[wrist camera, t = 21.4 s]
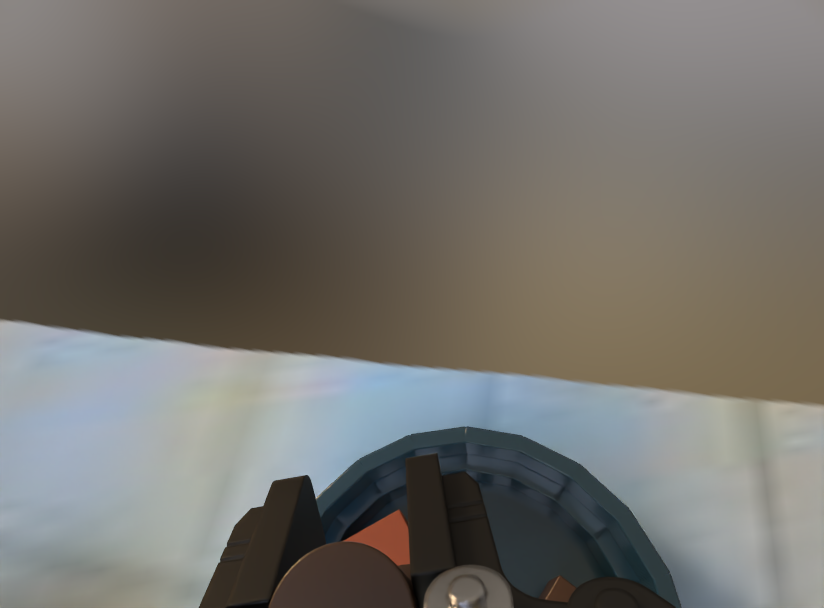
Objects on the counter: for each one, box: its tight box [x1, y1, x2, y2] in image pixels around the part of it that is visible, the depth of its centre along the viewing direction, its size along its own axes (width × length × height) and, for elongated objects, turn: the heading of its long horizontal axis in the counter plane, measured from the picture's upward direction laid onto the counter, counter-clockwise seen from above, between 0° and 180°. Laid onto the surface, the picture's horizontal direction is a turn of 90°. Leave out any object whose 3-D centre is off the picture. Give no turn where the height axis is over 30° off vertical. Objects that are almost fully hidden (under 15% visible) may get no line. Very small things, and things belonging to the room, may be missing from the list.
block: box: [344, 510, 410, 566], centre depth 26 cm, size 4×4×4 cm
